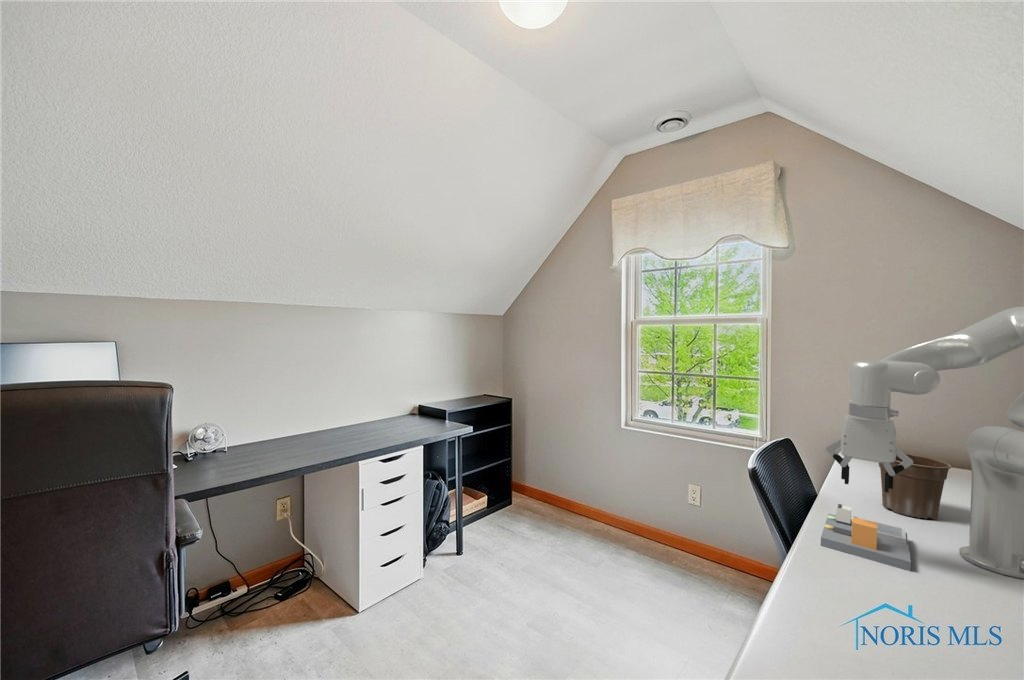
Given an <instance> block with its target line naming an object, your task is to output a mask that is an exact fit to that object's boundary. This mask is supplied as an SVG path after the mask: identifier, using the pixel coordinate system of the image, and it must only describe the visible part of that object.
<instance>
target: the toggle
mask: <svg viewBox="0 0 1024 680" xmlns="http://www.w3.org/2000/svg"><path fill="white" fill-rule="evenodd" d="M835 511H836V513H835V515H836V520H837V521H841V522H845V523H849V524H850V523H851V519H852V507H851V506H846V505H843V504H842V503H841V504H840V503H838V504H837V505H836V510H835Z"/></svg>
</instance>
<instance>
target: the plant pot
mask: <svg viewBox="0 0 1024 680" xmlns="http://www.w3.org/2000/svg"><path fill="white" fill-rule="evenodd" d="M903 453H904V452H903ZM904 454H905V455H906V456H908V457H909V458H910V459H911V460H912V461H913V464H912V465H911V466H909V467H907V468H906V469H904V470H903V471H901V472H899V473H897V474H895V475H894V476H893V489H890V488H889V493H887V492H885V473H886V471H887V470H886V468H885V467H884V465H883V463H879V462H878V467H879V470H880V481H881V483H880V484H881V497H882V498H881V500H882V501H881V502H882V506H883V507H884V508H885V507H886V509H887V508H888V509H887V510H891V511H892V512H894V513H896V514H899V515H902V514H903V516H905V515H906V516H905V517H909V516H911V517H910V518H913V517H917V518H916V519H920V518H924V519H923V520H927V519H929V518H931V519H930V520H932V519H933V520H936V519H935V518H937V519H938V518H939V517H938V516H939V511H940V505H941V499H942V495H943V490H944V486H945V481H946V480H947V478H948V473H949V470H950V469H951V468H952V465H951V464H950V463H947V462H944V461H942V460H939V459H936V458H931V457H926V456H922V455H916V454H911V453H906V452H905V453H904ZM901 462H903V460H902V459H900V458H899V457H898V456H897V455H896V460H895V462H894V463H891V465H892V466H893V467H894V466H896V465H898V464H900V463H901Z"/></svg>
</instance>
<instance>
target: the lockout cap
mask: <svg viewBox="0 0 1024 680" xmlns="http://www.w3.org/2000/svg"><path fill="white" fill-rule="evenodd" d="M852 517H853V521H852V542H851V543H852V544H856V545H859V546H863V547H867V548H870V549H874V550H876V547H877V522H878V521H875V522H872V521H873V520H871V521H868V520H869V519H867V520H864V519H865V518H859V517H858V518H856V517H857V516H852Z"/></svg>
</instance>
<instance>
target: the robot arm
mask: <svg viewBox="0 0 1024 680" xmlns="http://www.w3.org/2000/svg"><path fill="white" fill-rule="evenodd" d="M1023 347H1024V306H1015V307H1011V308H1007V309H1004V310H1002V311H999V312H997V313H994V314H993V315H991V316H989V317H986V318H985V319H982V320H980V321H978V322H975V323H973V324H971V325H969V326H967V327H965V328H963V329H961V330H958V331H956V332H953V333H952V334H948V335H946V336H942V337H938V338H936V339H933V340H929V341H926V342H923V343H920V344H916V345H913V346H910V347H907V348H904V349H901V350H899V351H897V352H895V353H893V354H890V355H889V356H887V357H884V358H882V359H881V360H878V361H873V360H856V361H854V362H853V363H851V365H850V371H849V372H850V373H849V374H850V375H849V377H850V378H849V402H848V406H849V407H848V414H846V415H845V414H844V415H845V416H844V419H843V421H842V429H841V438H840V439H838V440H837V441H835V442H833V443H831V444H830V445H828V446H826V448H825V450H826V451H827V452H828V454H829V455H830V456H831V457H832V458H833V460H835V461H836V462H837V463H838V464H839V465H840V467H841V473H840V474H841V476H840V477H841V480H844V485H849V482H850V466H849V463H850V462H851V460H852V459H856V460H862V461H866V462H867V461H868V462H874V463H878V464H879V463H883V465H884V467H885V468H886V470H887V471H886V473H885V492H887V493H889V488H890V489H893V476H894V475H895V474H897V473H899V472H901V471H903V470H904V469H906V468H907V467H909V466H911V465H912V464H913V461H912V460H911V459H910V458H909V457H908V456H906V455H905V454H904V452H903V451H902V450H900V449H899V448H898V447H897V432H896V431H897V430H896V424H895V421H894V420H892V419H891V418H892V417H899V412H900V411H899V410H895V409H892V408H891V400H892V393H893V392H894V393H901V394H906V395H915V396H919V395H926V394H929V393H931V392H934V391H935V390H936V389H937V388H938V387H939V385H940V382H941V378H940V375H939V372H940V371H941V372H942V371H948V370H958V369H960V370H961V369H967V368H974V367H978V366H982V365H985V364H987V363H990V362H992V361H994V360H995V359H998V358H1001V357H1003V356H1005V355H1007V354H1009V353H1011V352H1014V351H1016V350H1018V349H1020V348H1023ZM1006 415H1007V416H1006V417H1007V419H1008V421H1009V422H1010V423H1011V424H1012V425H1013V426H1015V427H1017V428H1019V429H1016V428H1011V427H1005V426H998V425H994V426H993V425H988V426H982V427H979V428H976V429H975V430H973V431H972V432H971V433H970V434H969V436H968V438H967V440H966V449H967V454H968V455H967V456H968V459H969V464H970V468H971V470H970V471H971V473H970V474H971V492H970V510H969V511H970V513H969V518H970V519H969V535H968V536H969V539H968V546H967V545H966V546H961V547H960V548H959V552H958V553H959V556H960V557H961V558H964V560H965V561H967V562H969V563H972V565H975V566H978V567H980V568H983V569H986V570H988V571H991V572H994V573H998V574H1000V575H1004V576H1005V575H1006V576H1008V577H1013V578H1018V579H1023V580H1024V391H1022V393H1021V394H1020V395H1019V396H1018V397H1016V399H1015V400H1014V401H1013V402H1012V403H1011V404H1010V405H1009V407H1008V409H1007V413H1006ZM838 448H840V454H841V455H842V456H844V457H842V456H841V455H840V454H839V453H837V451H836V450H837V449H838ZM896 455H897V456H898V457H899V458H900V459H902V460H903V462H901V463H900V464H898V465H896V466H894V467H893V466H892V465H891V463H894V462H895V460H896Z"/></svg>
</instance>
